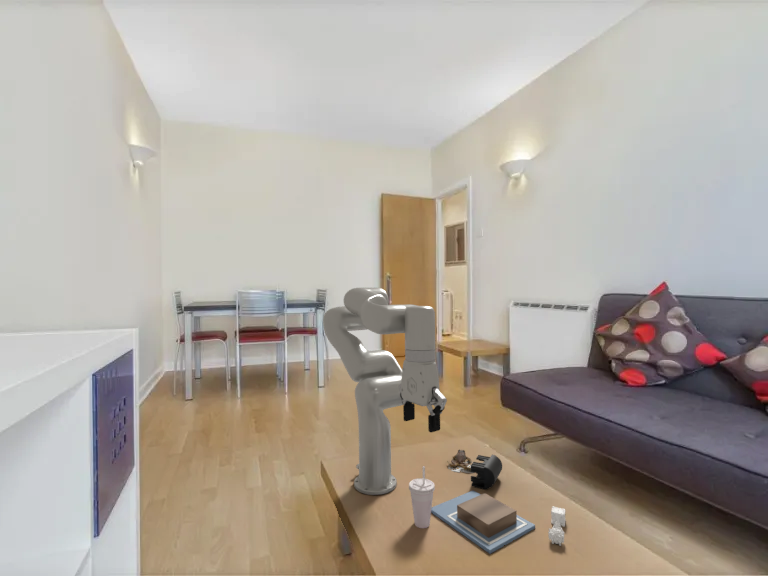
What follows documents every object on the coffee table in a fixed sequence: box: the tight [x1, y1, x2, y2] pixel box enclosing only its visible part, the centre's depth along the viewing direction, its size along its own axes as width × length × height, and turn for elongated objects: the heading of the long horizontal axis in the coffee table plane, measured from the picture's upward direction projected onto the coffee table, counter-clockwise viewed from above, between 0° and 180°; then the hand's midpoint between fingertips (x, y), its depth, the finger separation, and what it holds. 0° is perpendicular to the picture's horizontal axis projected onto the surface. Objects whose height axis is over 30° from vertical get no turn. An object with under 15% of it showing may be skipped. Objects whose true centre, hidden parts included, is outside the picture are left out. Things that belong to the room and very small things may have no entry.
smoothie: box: [408, 465, 436, 529], centre depth 96 cm, size 6×6×14 cm
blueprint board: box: [431, 490, 536, 555], centre depth 97 cm, size 20×16×1 cm
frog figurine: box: [446, 449, 475, 474], centre depth 128 cm, size 12×12×4 cm
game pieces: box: [547, 505, 567, 547], centre depth 92 cm, size 12×3×3 cm, turn 153°
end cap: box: [470, 454, 503, 491], centre depth 116 cm, size 10×7×7 cm
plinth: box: [457, 493, 518, 538], centre depth 96 cm, size 10×10×3 cm
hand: (421, 425), depth 96 cm, fingers open, 9 cm apart
